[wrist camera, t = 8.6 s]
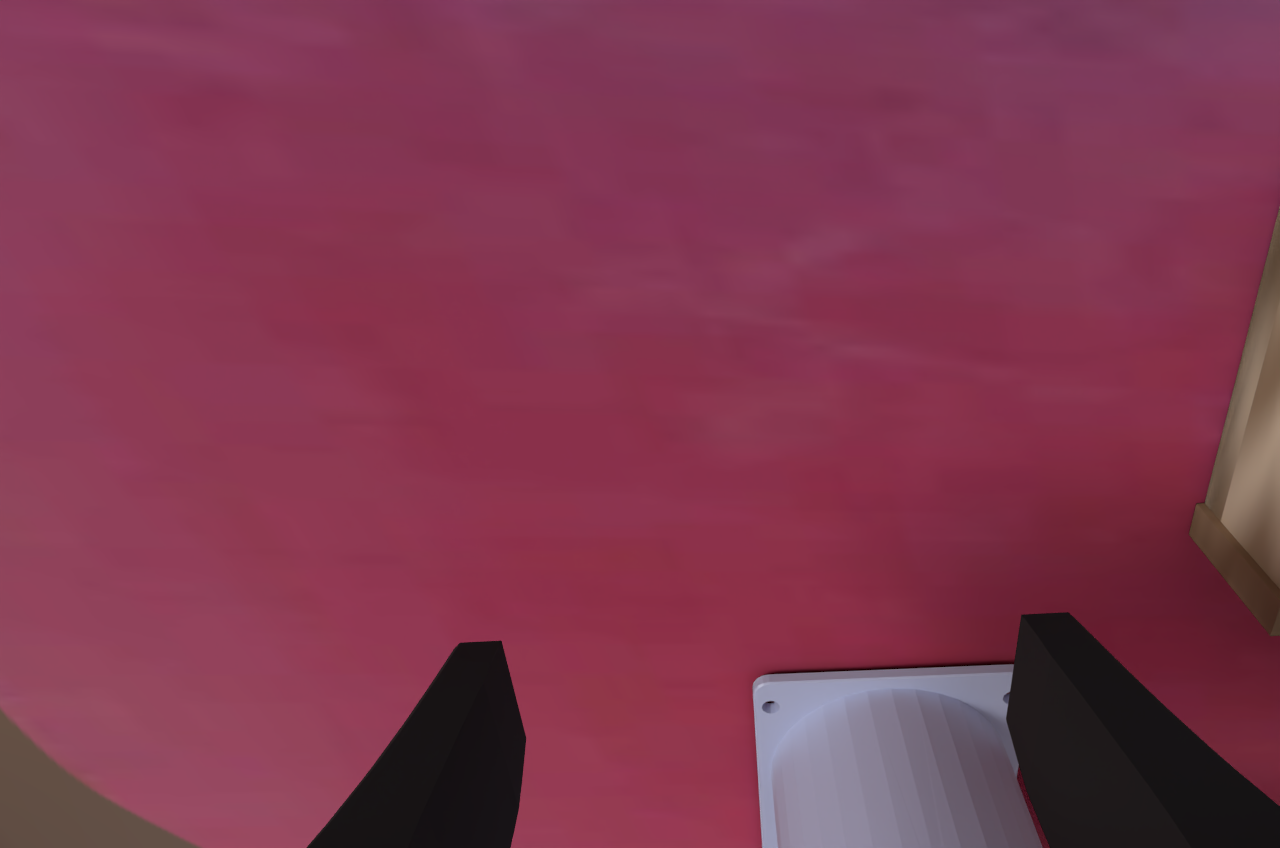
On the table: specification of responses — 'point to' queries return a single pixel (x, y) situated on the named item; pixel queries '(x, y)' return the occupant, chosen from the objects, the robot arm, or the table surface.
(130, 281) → the table surface
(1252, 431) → the crate
